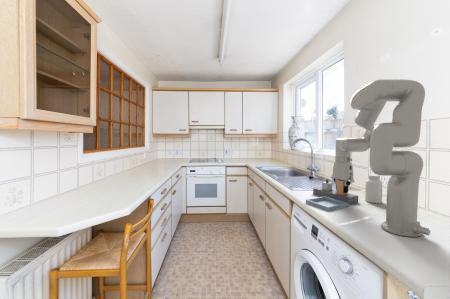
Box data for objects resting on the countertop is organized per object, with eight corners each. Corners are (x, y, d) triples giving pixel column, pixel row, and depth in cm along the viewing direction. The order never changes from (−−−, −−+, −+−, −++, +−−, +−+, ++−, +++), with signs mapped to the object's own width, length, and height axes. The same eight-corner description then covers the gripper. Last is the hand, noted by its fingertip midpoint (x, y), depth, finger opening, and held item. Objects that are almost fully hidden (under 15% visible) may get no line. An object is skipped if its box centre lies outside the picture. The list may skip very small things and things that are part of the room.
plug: (347, 196, 124) (347, 177, 123) (342, 197, 122) (343, 177, 121) (341, 194, 127) (341, 175, 127) (336, 195, 126) (336, 176, 125)
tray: (348, 208, 113) (348, 203, 113) (328, 212, 107) (328, 207, 107) (324, 200, 126) (324, 196, 126) (305, 204, 120) (305, 199, 120)
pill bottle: (371, 198, 129) (372, 173, 129) (385, 202, 122) (386, 176, 121) (361, 200, 127) (362, 174, 126) (375, 204, 119) (375, 177, 118)
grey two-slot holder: (358, 203, 120) (358, 195, 120) (348, 205, 117) (348, 197, 117) (322, 193, 142) (322, 186, 142) (313, 195, 138) (313, 188, 138)
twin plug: (332, 197, 133) (332, 179, 132) (327, 198, 131) (327, 180, 131) (326, 195, 137) (326, 178, 136) (321, 196, 135) (322, 179, 134)
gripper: (361, 161, 117) (360, 194, 119) (334, 158, 133) (333, 188, 134) (352, 161, 114) (351, 196, 115) (325, 158, 129) (325, 189, 130)
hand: (341, 191), depth 124 cm, fingers closed on plug, 3 cm apart
